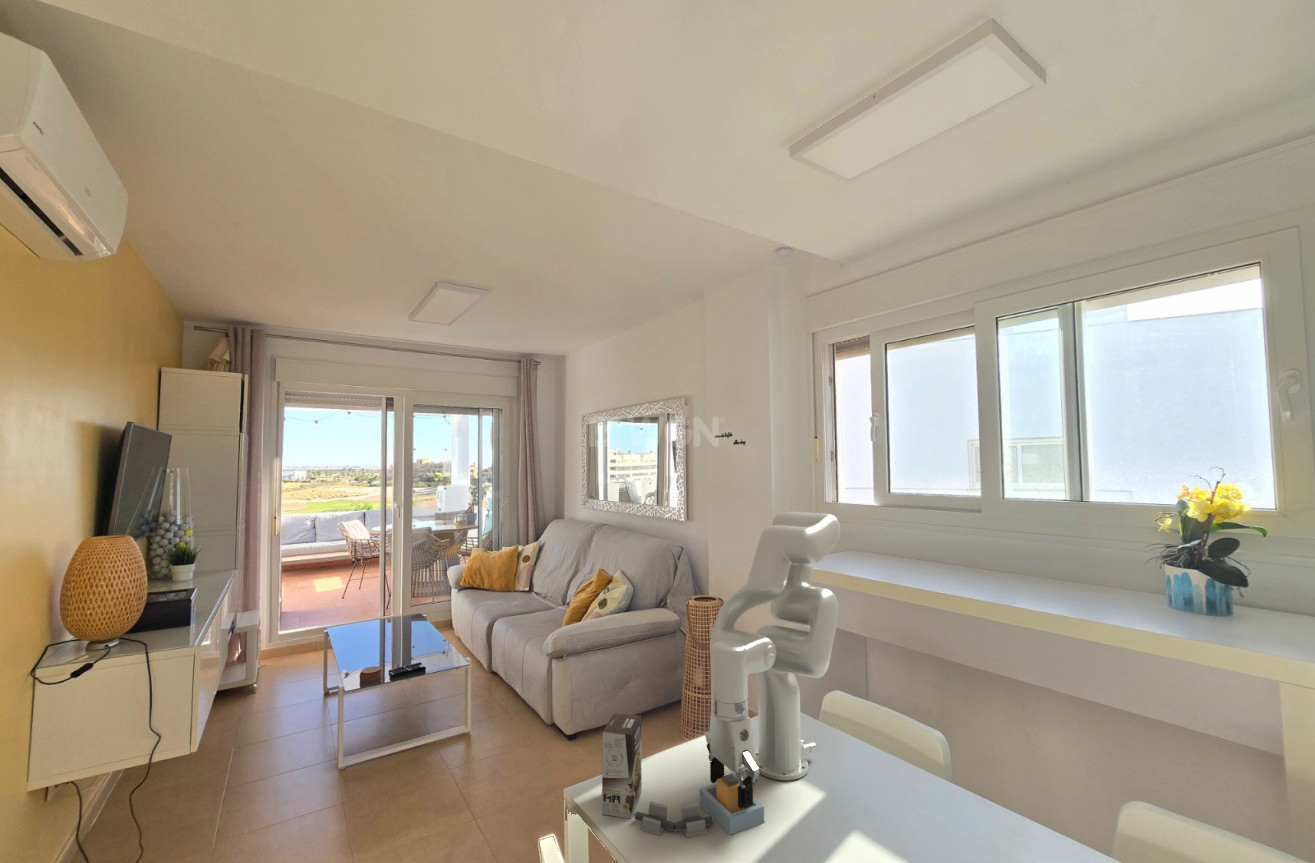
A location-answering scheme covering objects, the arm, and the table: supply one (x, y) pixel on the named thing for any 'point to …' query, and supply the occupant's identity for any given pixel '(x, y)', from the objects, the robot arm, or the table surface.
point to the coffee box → (621, 765)
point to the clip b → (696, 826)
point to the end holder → (727, 820)
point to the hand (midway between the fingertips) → (730, 792)
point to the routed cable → (673, 825)
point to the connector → (728, 793)
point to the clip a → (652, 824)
